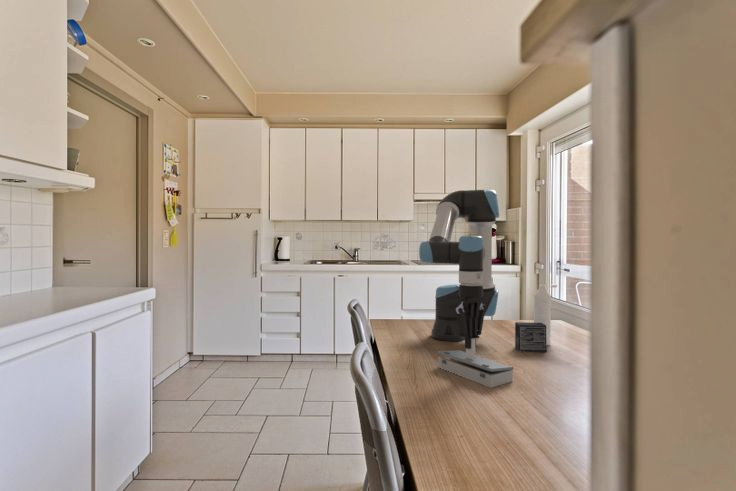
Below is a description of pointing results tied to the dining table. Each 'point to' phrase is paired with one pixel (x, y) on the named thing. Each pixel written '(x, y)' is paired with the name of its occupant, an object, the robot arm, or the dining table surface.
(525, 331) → the small box
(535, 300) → the water bottle
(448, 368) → the hinged pencil case
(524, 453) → the dining table surface
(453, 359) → the orange cylinder rod
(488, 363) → the cover
